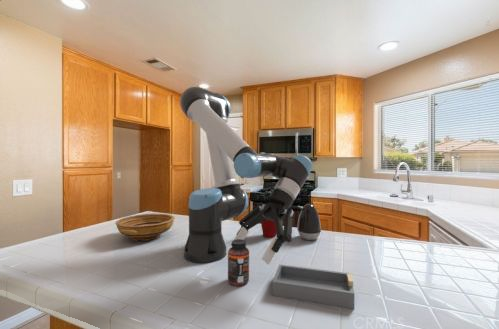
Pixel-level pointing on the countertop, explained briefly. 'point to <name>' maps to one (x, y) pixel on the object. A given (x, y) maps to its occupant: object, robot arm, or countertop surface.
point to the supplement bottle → (238, 263)
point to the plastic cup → (268, 228)
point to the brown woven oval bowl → (145, 225)
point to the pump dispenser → (308, 222)
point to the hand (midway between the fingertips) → (248, 254)
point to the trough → (314, 285)
